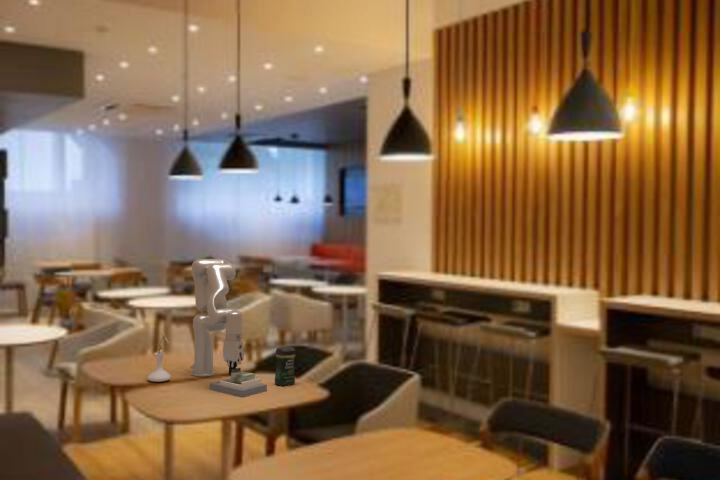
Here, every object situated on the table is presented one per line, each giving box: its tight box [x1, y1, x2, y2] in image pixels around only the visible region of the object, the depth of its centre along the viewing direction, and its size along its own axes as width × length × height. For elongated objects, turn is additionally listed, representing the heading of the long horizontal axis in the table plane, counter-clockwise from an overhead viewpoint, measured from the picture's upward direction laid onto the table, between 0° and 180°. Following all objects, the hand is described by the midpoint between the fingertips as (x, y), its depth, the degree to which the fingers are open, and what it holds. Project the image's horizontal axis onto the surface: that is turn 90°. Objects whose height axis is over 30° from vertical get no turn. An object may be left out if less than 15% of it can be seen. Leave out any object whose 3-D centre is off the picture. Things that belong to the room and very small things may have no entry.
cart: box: [230, 367, 256, 384], centre depth 344 cm, size 10×6×7 cm, turn 53°
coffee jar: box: [274, 346, 296, 387], centre depth 360 cm, size 10×8×19 cm
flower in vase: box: [147, 329, 172, 383], centre depth 362 cm, size 13×11×25 cm
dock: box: [209, 378, 268, 398], centre depth 346 cm, size 22×16×6 cm
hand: (232, 374), depth 348 cm, fingers closed
